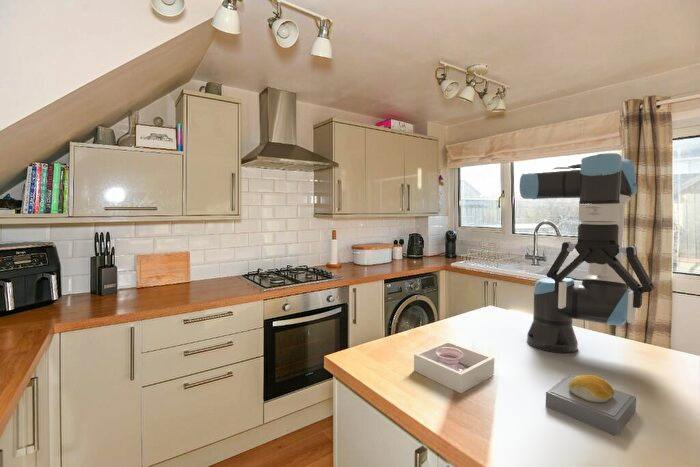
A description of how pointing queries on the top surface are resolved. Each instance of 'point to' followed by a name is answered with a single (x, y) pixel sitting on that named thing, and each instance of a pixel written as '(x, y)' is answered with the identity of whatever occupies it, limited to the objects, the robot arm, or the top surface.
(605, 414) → the grey square block
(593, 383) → the bread roll
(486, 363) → the white open box
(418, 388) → the top surface
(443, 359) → the teacup
